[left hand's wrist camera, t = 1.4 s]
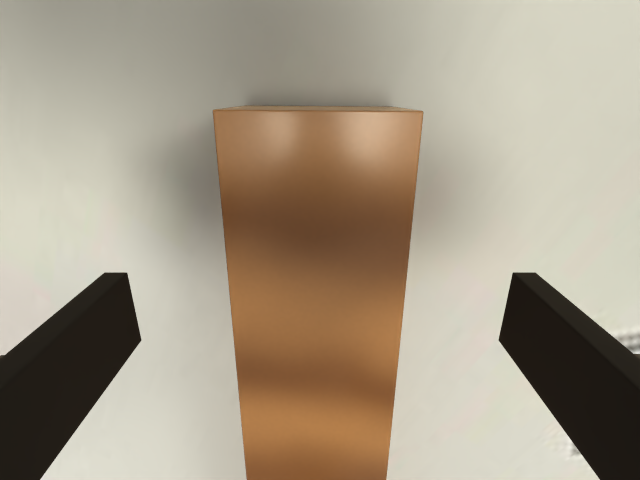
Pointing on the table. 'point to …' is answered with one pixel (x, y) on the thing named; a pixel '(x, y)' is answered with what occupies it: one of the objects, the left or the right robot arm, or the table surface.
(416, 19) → the table surface
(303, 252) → the long beam
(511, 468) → the table surface
